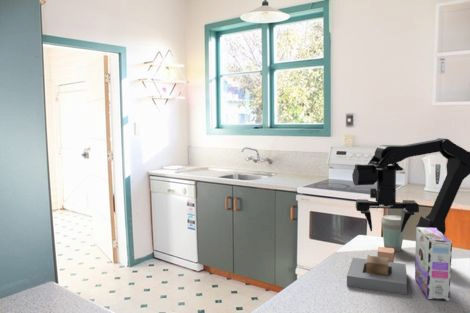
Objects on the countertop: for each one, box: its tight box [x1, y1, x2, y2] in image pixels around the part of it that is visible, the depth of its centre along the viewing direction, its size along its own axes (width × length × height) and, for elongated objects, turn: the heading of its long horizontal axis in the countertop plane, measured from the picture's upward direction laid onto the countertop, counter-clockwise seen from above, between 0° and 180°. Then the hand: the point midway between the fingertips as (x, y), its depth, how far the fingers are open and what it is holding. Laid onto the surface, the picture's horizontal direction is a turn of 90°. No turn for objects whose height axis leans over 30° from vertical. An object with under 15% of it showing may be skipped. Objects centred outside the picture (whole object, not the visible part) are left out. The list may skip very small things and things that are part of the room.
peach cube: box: [377, 246, 395, 263], centre depth 129 cm, size 5×5×5 cm
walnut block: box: [366, 255, 389, 276], centre depth 117 cm, size 6×6×5 cm
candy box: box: [414, 226, 453, 302], centre depth 109 cm, size 14×6×16 cm, turn 168°
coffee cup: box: [380, 214, 406, 252], centre depth 144 cm, size 8×8×12 cm
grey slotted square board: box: [346, 257, 408, 295], centre depth 117 cm, size 16×16×3 cm
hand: (386, 231), depth 127 cm, fingers open, 9 cm apart
